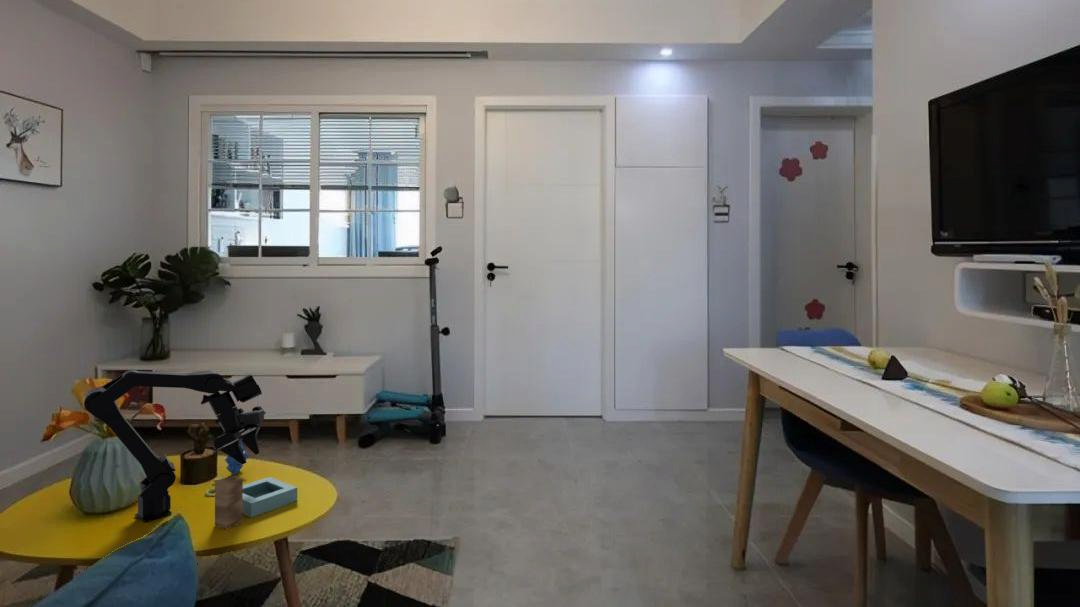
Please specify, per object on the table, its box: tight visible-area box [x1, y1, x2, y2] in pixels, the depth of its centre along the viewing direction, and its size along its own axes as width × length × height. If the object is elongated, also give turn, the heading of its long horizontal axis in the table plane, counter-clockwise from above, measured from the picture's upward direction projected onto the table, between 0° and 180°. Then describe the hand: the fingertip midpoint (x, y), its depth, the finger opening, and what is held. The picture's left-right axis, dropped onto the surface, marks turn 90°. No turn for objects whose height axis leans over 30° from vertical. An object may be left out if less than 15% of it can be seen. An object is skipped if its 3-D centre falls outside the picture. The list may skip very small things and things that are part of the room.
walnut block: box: [214, 475, 244, 530], centre depth 147 cm, size 5×5×12 cm
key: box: [205, 476, 224, 497], centre depth 169 cm, size 7×12×2 cm, turn 46°
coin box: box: [242, 476, 298, 518], centre depth 161 cm, size 14×14×4 cm
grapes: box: [224, 441, 250, 475], centre depth 182 cm, size 12×7×12 cm, turn 11°
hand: (251, 458), depth 160 cm, fingers open, 9 cm apart
